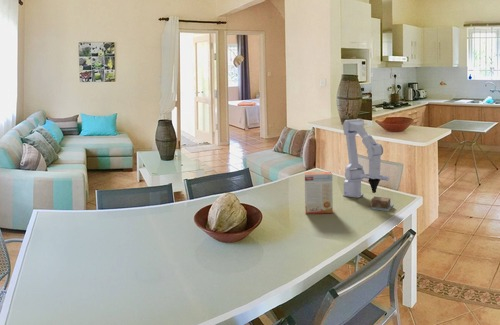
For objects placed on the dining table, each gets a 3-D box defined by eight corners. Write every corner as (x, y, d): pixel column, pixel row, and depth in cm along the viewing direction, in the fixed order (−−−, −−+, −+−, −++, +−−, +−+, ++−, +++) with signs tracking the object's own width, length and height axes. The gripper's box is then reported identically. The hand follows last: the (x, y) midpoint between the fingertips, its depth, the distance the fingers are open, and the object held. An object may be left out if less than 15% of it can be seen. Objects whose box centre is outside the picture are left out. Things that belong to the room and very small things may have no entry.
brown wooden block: (371, 199, 229) (387, 201, 224) (374, 196, 234) (390, 198, 229) (371, 206, 230) (387, 208, 225) (374, 203, 235) (390, 205, 230)
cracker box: (331, 209, 228) (331, 171, 224) (332, 213, 222) (332, 174, 218) (304, 210, 230) (304, 171, 225) (305, 213, 224) (304, 174, 219)
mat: (370, 209, 227) (370, 208, 227) (376, 202, 237) (376, 202, 237) (388, 211, 222) (388, 210, 222) (393, 204, 232) (393, 204, 232)
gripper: (358, 168, 228) (358, 192, 231) (386, 170, 220) (386, 196, 223) (362, 165, 234) (362, 189, 237) (390, 167, 226) (389, 192, 229)
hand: (374, 192), depth 230 cm, fingers closed
